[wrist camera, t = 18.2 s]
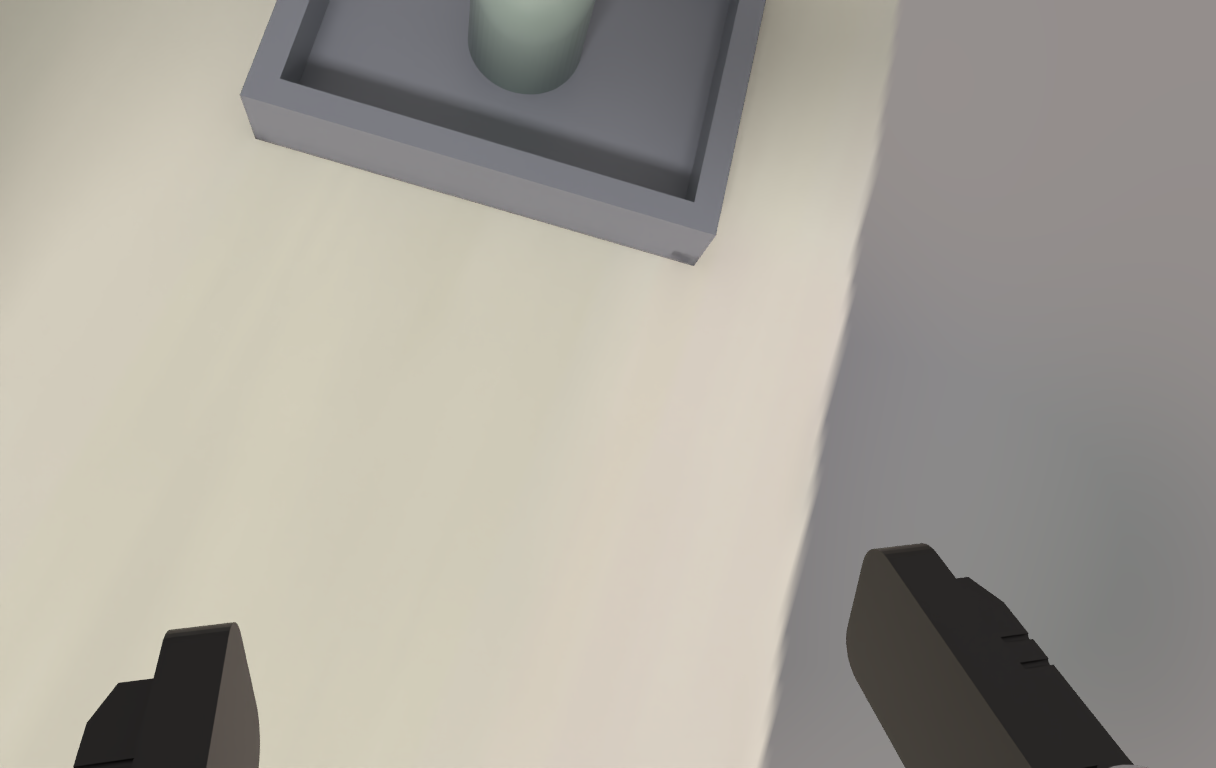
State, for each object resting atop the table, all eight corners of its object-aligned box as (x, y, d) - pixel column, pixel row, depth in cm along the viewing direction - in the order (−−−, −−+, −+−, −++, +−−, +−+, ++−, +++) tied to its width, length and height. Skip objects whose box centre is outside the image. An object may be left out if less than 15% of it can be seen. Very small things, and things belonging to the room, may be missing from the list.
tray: (255, 138, 41) (239, 95, 38) (364, -148, 45) (359, -210, 42) (693, 265, 43) (715, 235, 40) (756, -19, 48) (780, -68, 44)
